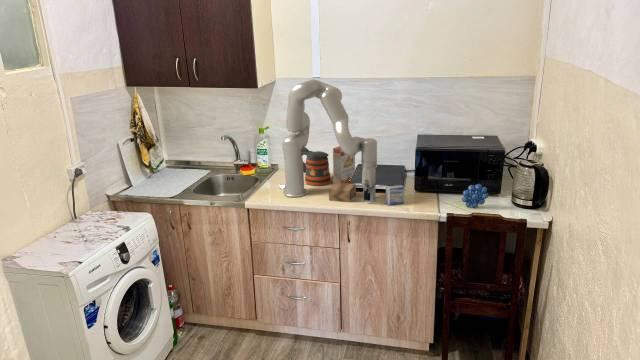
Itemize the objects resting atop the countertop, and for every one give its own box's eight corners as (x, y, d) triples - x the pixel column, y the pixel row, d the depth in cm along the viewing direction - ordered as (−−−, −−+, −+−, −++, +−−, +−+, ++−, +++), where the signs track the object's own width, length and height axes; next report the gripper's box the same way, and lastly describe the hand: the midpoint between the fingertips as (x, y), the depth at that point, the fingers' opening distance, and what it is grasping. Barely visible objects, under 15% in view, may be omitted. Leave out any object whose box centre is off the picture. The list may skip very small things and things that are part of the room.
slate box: (363, 201, 235) (363, 188, 233) (365, 198, 240) (365, 185, 237) (373, 202, 233) (373, 189, 231) (375, 198, 238) (375, 185, 236)
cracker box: (342, 186, 257) (341, 149, 251) (333, 184, 261) (332, 148, 254) (356, 179, 268) (355, 143, 261) (347, 178, 271) (346, 142, 265)
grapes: (486, 205, 224) (488, 181, 221) (487, 210, 218) (489, 186, 214) (461, 203, 228) (462, 180, 224) (461, 208, 221) (462, 184, 218)
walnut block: (329, 200, 238) (328, 189, 236) (335, 193, 248) (335, 182, 246) (350, 202, 234) (349, 191, 232) (355, 194, 244) (355, 183, 242)
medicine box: (389, 205, 228) (389, 188, 226) (385, 202, 232) (385, 186, 230) (404, 203, 230) (404, 186, 228) (400, 200, 234) (400, 184, 232)
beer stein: (293, 184, 264) (291, 149, 258) (304, 176, 277) (303, 143, 271) (324, 187, 257) (323, 151, 251) (334, 179, 270) (333, 145, 264)
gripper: (366, 158, 239) (366, 190, 245) (357, 168, 224) (357, 202, 229) (380, 159, 237) (380, 191, 242) (372, 169, 222) (372, 203, 227)
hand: (369, 196), depth 236 cm, fingers open, 9 cm apart
